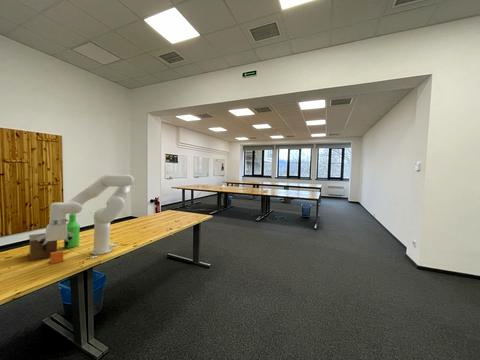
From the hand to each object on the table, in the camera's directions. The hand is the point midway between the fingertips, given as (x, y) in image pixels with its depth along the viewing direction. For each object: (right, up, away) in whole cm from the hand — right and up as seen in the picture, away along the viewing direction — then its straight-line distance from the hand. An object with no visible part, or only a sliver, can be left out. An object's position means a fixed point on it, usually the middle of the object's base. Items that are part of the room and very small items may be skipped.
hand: (55, 249), depth 123 cm
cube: (0, -8, +1) cm, 8 cm away
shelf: (-17, -7, +9) cm, 20 cm away
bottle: (-12, -7, +26) cm, 30 cm away
